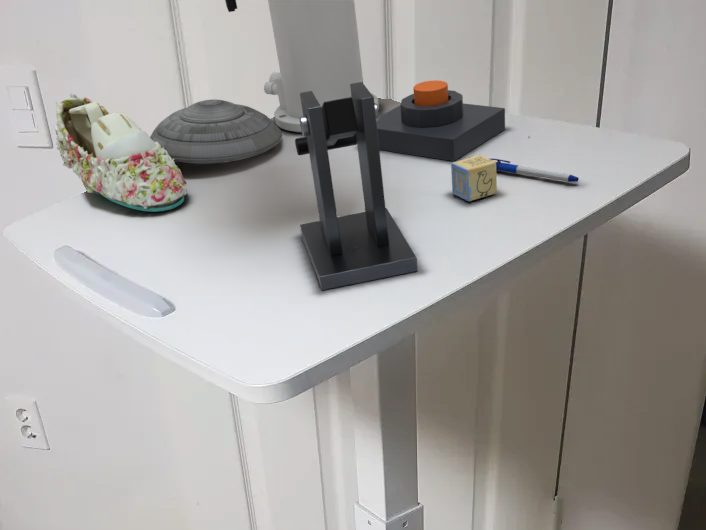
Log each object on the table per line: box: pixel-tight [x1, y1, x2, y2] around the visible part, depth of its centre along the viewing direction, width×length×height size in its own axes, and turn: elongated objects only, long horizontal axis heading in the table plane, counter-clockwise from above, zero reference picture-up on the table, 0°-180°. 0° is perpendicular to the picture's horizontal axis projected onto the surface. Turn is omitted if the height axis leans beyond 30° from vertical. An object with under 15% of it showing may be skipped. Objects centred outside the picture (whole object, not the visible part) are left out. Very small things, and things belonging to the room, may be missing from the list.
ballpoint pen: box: [490, 158, 579, 183], centre depth 80 cm, size 10×1×1 cm, turn 52°
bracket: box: [299, 82, 418, 291], centre depth 68 cm, size 11×8×13 cm
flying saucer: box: [149, 99, 283, 165], centre depth 94 cm, size 15×15×6 cm
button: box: [412, 80, 449, 106], centre depth 89 cm, size 4×4×2 cm
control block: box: [377, 89, 506, 162], centre depth 90 cm, size 12×10×4 cm
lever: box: [294, 97, 358, 156], centre depth 70 cm, size 13×6×2 cm, turn 12°
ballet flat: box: [54, 92, 188, 213], centre depth 89 cm, size 9×25×8 cm, turn 39°
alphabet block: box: [450, 154, 498, 202], centre depth 78 cm, size 3×3×3 cm
